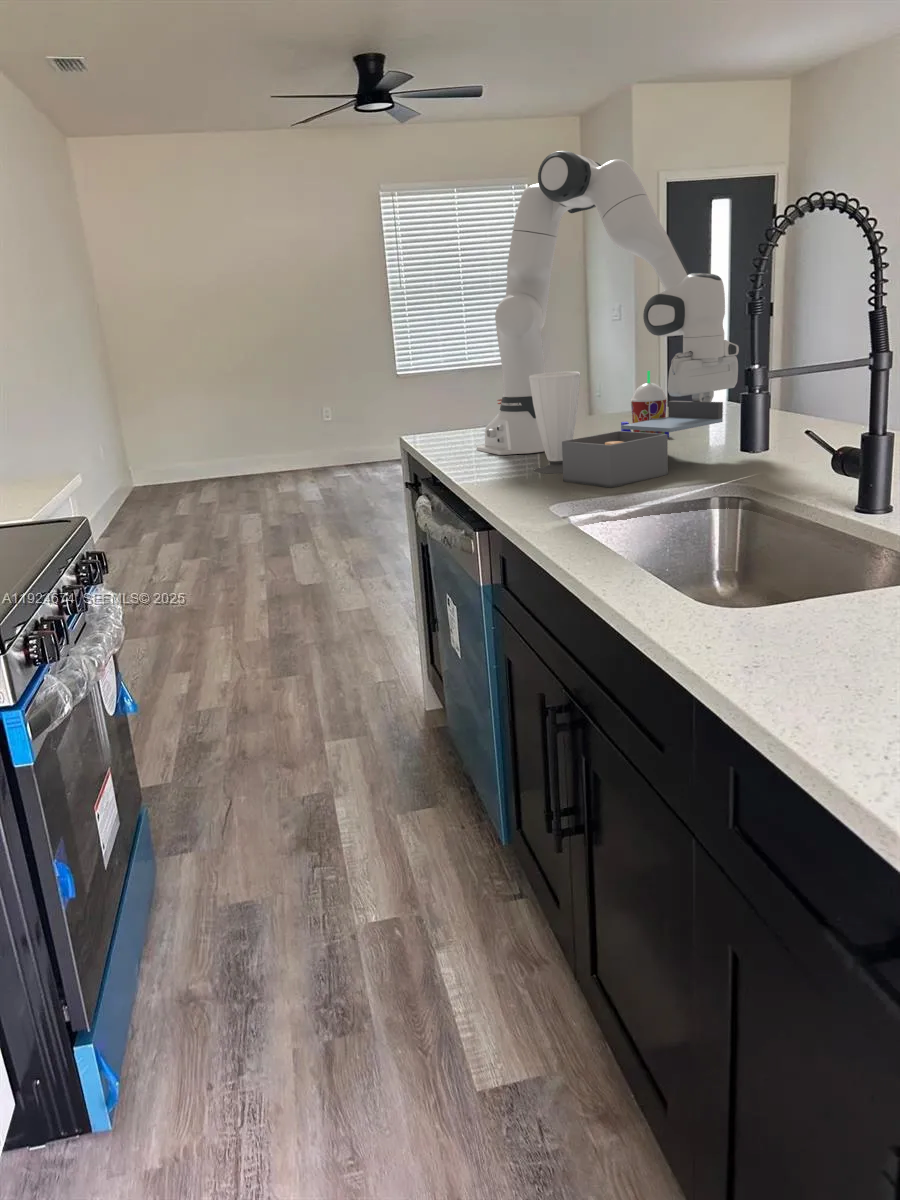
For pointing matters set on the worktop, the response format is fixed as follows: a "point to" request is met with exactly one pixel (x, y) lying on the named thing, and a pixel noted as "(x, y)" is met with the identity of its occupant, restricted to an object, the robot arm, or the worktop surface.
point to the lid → (683, 417)
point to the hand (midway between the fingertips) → (702, 412)
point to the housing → (615, 458)
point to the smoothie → (648, 404)
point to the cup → (555, 413)
